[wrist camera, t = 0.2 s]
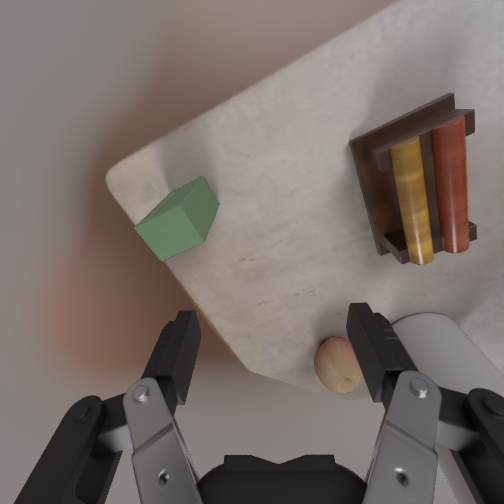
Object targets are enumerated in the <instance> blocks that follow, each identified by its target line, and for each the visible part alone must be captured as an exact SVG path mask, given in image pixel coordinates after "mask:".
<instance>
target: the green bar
mask: <svg viewBox="0 0 504 504" xmlns="http://www.w3.org/2000/svg"><path fill="white" fill-rule="evenodd" d="M219 205H220V204H219V202H218V201H217V199H216V197H215V195H214V194H213V192H212V190H211V189H210V187H209V185H208V183H207V182H206V180H205V178H204V177H203V176H201V177H200V178H198V179H196V180H194V181H192V182H190V183H188V184H186V185H184V186H182V187H181V188H179V189H177V190H175V191H173V192H171V193H169V194H168V195H167V196H166V197H165V198H164V199H163V200H162V201H161V202H160V203H159V204H158V205H157V206H156V207H155V208H154V209H153V210H152V211H151V212H150V213H149V214H148V215H147V216H146V217H145V218H144V219H142V220H141V221H140V222H139V223H138V224H137V225H136V226H135V227H134V229H135V230H136V231H137V232H138V233H139V235H140V236H141V237H142V238H143V240H144V241H145V242H146V243H147V245H148V246H149V247H150V248H151V250H152V251H153V252H154V253H155V254H156V256H157V257H158V258H159V259H160V261H163V260H165V259H167V258H170V257H172V256H174V255H176V254H179V253H181V252H183V251H185V250H188V249H190V248H192V247H194V246H197V245H199V244H201V243H203V242H205V239H206V237H207V234H208V232H209V229H210V227H211V224H212V222H213V219H214V217H215V214H216V212H217V210H218V207H219Z"/></svg>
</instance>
